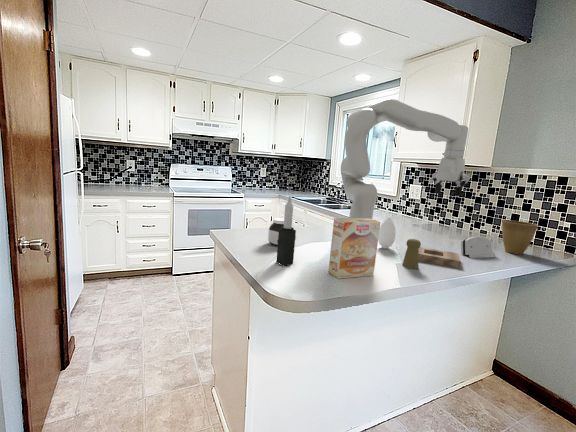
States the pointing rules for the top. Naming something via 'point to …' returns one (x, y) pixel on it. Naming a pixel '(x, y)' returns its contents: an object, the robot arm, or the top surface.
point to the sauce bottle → (387, 233)
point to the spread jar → (275, 231)
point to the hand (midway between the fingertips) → (447, 194)
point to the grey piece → (477, 247)
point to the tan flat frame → (439, 257)
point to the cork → (412, 254)
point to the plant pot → (517, 235)
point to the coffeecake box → (353, 247)
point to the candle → (286, 237)
